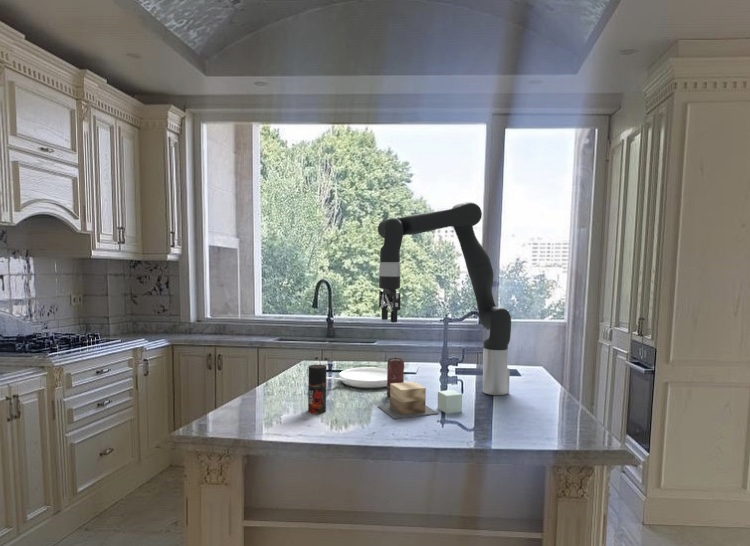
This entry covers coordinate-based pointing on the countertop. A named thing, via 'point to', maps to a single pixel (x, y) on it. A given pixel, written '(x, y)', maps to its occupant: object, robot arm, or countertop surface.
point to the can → (394, 372)
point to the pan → (364, 377)
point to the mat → (396, 415)
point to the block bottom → (407, 406)
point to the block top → (407, 391)
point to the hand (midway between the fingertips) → (389, 320)
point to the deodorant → (317, 389)
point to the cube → (450, 401)
